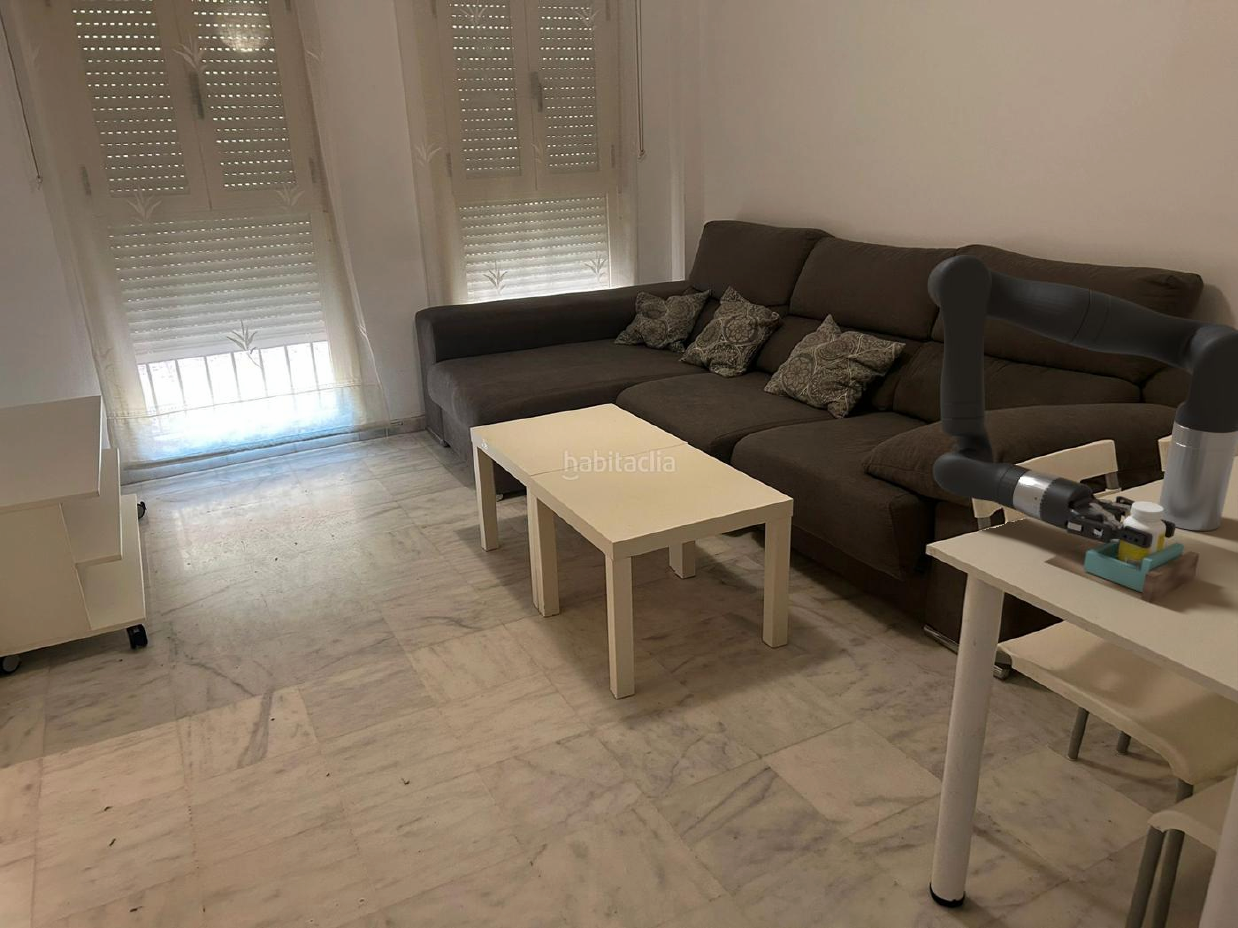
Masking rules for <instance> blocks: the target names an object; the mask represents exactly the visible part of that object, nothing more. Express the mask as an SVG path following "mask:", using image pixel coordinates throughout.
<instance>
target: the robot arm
mask: <svg viewBox="0 0 1238 928" xmlns="http://www.w3.org/2000/svg"><path fill="white" fill-rule="evenodd" d="M927 291H928V294H929V297H930V299H931V300H932V301H933V303H934V305H936V306H937V307H939V309H940V313H941V318H942V323H943V324H942V325H943V336H944V337H943V339H944V345H943V346H944V347H943V349H944V350H943V359H942V360H943V361H942V370H941V376H940V378H941V379H940V396H939V397H940V402H939V403H940V425H941V430H942V432H943V433H944V434H945V435H947V436H951V437H954V440H955V443H956V447H957V450H953V451H952V450H951V451H949V452H946V453H944V454H942V455H940V456H939V457H938V458H937V459H936V460H935V461H934V463H933V467H932V475H933V478H934V481H935V482H936V483H937V485H938V486H939V487H940V488H942V489H943V490H944V491H946V492H948V493H950V494H951V495H956V496H958V497H964V498H968V499H973V500H980V501H986V502H987V501H988V502H993V503H996V504H998V505H1001V506H1004V507H1006V508H1009V509H1011V510H1015V511H1016V512H1020V513H1021V514H1024V515H1025V516H1026V517H1028V518H1032V519H1035V520H1037V521H1040V522H1044V523H1045V524H1048V525H1052V526H1053V527H1056V528H1059V529H1062V530H1065V531H1066V533H1068V534H1071V535H1075V536H1077V537H1083V538H1085V539H1089V540H1093V541H1096V542H1100V543H1103V544H1105V543H1110V541H1111V540H1114V541H1118V542H1119V541H1121V540H1122V541H1125V542H1127V543H1130V544H1133V545H1136V546H1139V547H1142V548H1144V549H1147V548H1149V547H1151V544H1152V539H1153V536H1152V534H1151V533H1148V532H1145V531H1142V530H1139V529H1136V528H1133V527H1130V526H1125V527H1124V524H1123V522H1124V521H1121V520H1122V517H1124V519H1125V518H1127V517H1128V516H1131V507H1132V504H1133V503H1134V502H1136V501H1134V500H1132V499H1129V498H1127V497H1125V496H1122V495H1118V496H1116V497H1115V501H1112V500H1111V499H1105V498H1103V499H1102V498H1096V496H1095V494H1094V492H1093V489H1092V488H1091V487H1090V485H1087V484H1085V483H1081V482H1078V481H1074V480H1071V479H1068V478H1065V477H1061V476H1060V475H1055V474H1052V473H1049V472H1044V471H1038V470H1035V469H1034V470H1033V469H1030V468H1028V467H1025V466H1021V465H1018V464H1014V463H1009V462H999V463H997V462H996V463H995V461H996V460H995V454H994V450H993V446H992V443H991V440H990V437H989V432H988V429H987V427H986V422H985V421H986V413H985V412H986V410H985V409H986V408H985V407H986V405H985V404H986V400H985V396H986V395H985V370H984V363H985V362H984V352H985V351H984V345H985V330H986V320H987V318H990V319H995V320H999V321H1004V322H1005V323H1008V324H1012V325H1014V326H1017V327H1020V328H1022V329H1024V330H1027V331H1030V332H1031V333H1035V334H1036V335H1040V336H1042V337H1046V338H1048V339H1051V340H1055V341H1056V342H1057V341H1058V342H1059V343H1064V344H1066V345H1070V346H1074V347H1077V348H1081V349H1085V350H1089V351H1093V352H1100V353H1107V354H1117V355H1118V354H1120V355H1133V356H1142V357H1146V358H1150V359H1153V360H1156V361H1158V362H1162V363H1165V364H1168V365H1170V366H1173V367H1176V368H1178V369H1180V370H1183V371H1185V372H1187V373H1189V374H1190V375H1191V379H1190V384H1189V388H1188V392H1187V395H1186V396H1187V397H1186V399H1185V401H1183V402H1181V403H1180V404H1178V406H1177V408H1176V412H1175V417H1174V422H1173V426H1172V427H1173V428H1172V432H1171V438H1170V444H1169V449H1168V453H1167V454H1168V455H1167V460H1166V463H1165V464H1166V465H1165V470H1164V476H1163V481H1162V485H1161V491H1160V496H1159V501H1158V505H1160V506H1162V507H1163V508H1164V511H1163V517H1162V519H1161V521H1162V522H1163V523H1164V524H1165V526H1166V532H1165V537H1164V538H1167V539H1170V538H1172V537H1174V536H1175V531H1176V528H1180V529H1185V530H1190V531H1212V530H1216V529H1218V528H1219V527H1220V526H1221V521H1222V517H1223V512H1224V506H1225V502H1226V498H1227V493H1228V490H1229V489H1228V488H1229V485H1230V480H1231V477H1232V476H1231V475H1232V471H1233V465H1234V462H1235V457H1236V452H1237V447H1238V329H1237V328H1235V327H1233V326H1229V325H1226V324H1222V323H1215V322H1209V321H1201V320H1195V319H1190V318H1189V319H1188V318H1183V317H1178V316H1174V315H1168V314H1164V313H1160V312H1157V311H1155V310H1153V309H1150V308H1148V307H1145V306H1142V305H1140V304H1137V303H1135V302H1132V301H1129V300H1127V299H1123V298H1121V297H1117V296H1114V295H1111V294H1108V293H1104V292H1101V291H1096V290H1092V289H1088V288H1085V287H1079V286H1075V285H1069V284H1064V283H1056V282H1050V281H1049V282H1048V281H1040V280H1039V281H1038V280H1028V279H1022V278H1018V277H1015V276H1011V275H1008V274H1005V273H1002V272H999V271H997V270H993V269H991V268H989V267H988V265H987V264H986V263H985V262H984V261H983V260H982V259H980V258H979V257H976V256H975V255H970V254H962V255H956V256H955V255H954V256H952V257H949V258H947V259H945V260H943V261H942V262H939V264H938V265H936V266H935V267H934V269H932V271H931V273H930V274H929V277H928V280H927Z"/></svg>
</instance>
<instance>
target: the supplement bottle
mask: <svg viewBox="0 0 1238 928" xmlns="http://www.w3.org/2000/svg"><path fill="white" fill-rule="evenodd" d="M1163 511H1164V508H1163V507H1162V506H1160V505H1159V503H1155V502H1150V501H1135V502H1134V503H1133V504H1132V507H1131V516H1128V517H1127V518H1125V517H1124V520H1123V521H1122V522H1123V524H1124V527H1125V526H1130V527H1133V528H1136V529H1139V530H1142V531H1145V532H1148V533H1151V534H1152V536H1153V539H1152V544H1151V547H1149V548H1147V549H1144V548H1142V547H1139V546H1136V545H1133V544H1130V543H1127V542H1125V541H1122V540H1121V541H1120V544H1119V550H1118V556H1117V560H1119V561H1122V562H1124V563H1127V564H1130V565H1133V566H1135V567H1138V568H1141V567H1142V562H1143V559H1144V558H1146V557H1148V556H1150V555H1152V554H1154V553H1156V552H1158V551H1160V550H1162V549H1164V548H1163V546H1164V542H1165V538H1166V537H1165V532H1166V526H1165V524H1164V523H1163V522H1162V521H1161V519H1162V517H1163Z"/></svg>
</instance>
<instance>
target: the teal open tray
mask: <svg viewBox="0 0 1238 928" xmlns="http://www.w3.org/2000/svg"><path fill="white" fill-rule="evenodd" d="M1119 544H1120V541H1119V542H1118V541H1114V540H1110V543H1103V544H1101V545H1100V546H1098V547H1096V548H1094V549H1092V550H1090V551H1087V552H1086V557H1085V564H1084V570H1085V571H1087V572H1090V573H1092V574H1095V575H1098V576H1100V577H1103V578H1105V579H1108V580H1111V581H1113V582H1116V583H1119V584H1121V585H1124V586H1126V587H1129V588H1132V589H1134V590H1137V591H1140V592H1142V591H1143V586H1144V580H1145V575H1146V573H1148V572H1150V571H1152V570H1154V569H1156V568H1158V567H1160V566H1162V565H1164V564H1166V563H1168V562H1170V561H1172V560H1174V559H1176V558H1178V557H1180V556H1182V555H1183V553H1184V552H1183V550H1184V548H1185V547H1184V546H1185V544H1182V543H1180V542H1175V543H1173V544H1170V545H1169V546H1167V547H1166V546H1165V548H1162V550H1160V551H1158V552H1156V553H1154V554H1152V555H1150V556H1148V557H1146V558H1144V559H1143V562H1142V567H1141V568H1138V567H1135V566H1133V565H1130V564H1127V563H1124V562H1122V561H1119V560H1117V556H1118V550H1119Z"/></svg>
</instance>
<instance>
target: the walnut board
mask: <svg viewBox="0 0 1238 928" xmlns="http://www.w3.org/2000/svg"><path fill="white" fill-rule="evenodd" d="M1098 546H1101V545H1100V544H1098V543H1097V544H1096V543H1094V542H1091V541H1088V542H1085V543H1082V544H1080V545H1078V546H1076V547H1073V548H1072V549H1070V550H1067V551H1065V552H1062V553H1060V554H1058V555H1056V556H1053V557H1051V558H1049V559H1047V560H1045V561H1043V563H1045V564H1048V565H1050V566H1053V567H1056V568H1058V569H1061V570H1063V571H1067V572H1069V573H1070V574H1071V573H1072V574H1074V575H1077V576H1079V577H1081V578H1085V579H1086V580H1089V581H1092V582H1094V583H1097V584H1100V585H1103V586H1105V587H1108V588H1110V589H1112V590H1116V591H1117V592H1120V593H1122V594H1125V595H1128V596H1131V597H1133V598H1136V599H1139V600H1141V601H1143V602H1146V603H1148V604H1151V603H1152V602H1154V601H1156V600H1158V599H1159V598H1161V597H1163V596H1166V595H1168V593H1171V592H1173V591H1175V590H1176V589H1178V588H1180V587H1182V586H1184V585H1186V584H1188V583H1190V582H1191V581H1193V580H1195V576H1196V571H1197V566H1198V561H1199V557H1200V554H1199V553H1197V552H1194V551H1191V550H1190V551H1188V552H1186V553H1184V554H1182V556H1180V557H1178V558H1176V559H1174V560H1172V561H1170V562H1168V563H1166V564H1164V565H1162V566H1160V567H1158V568H1156V569H1154V570H1152V571H1150V572H1148V573H1146V575H1145V580H1144V586H1143V591H1142V592H1140V591H1137V590H1134V589H1132V588H1129V587H1126V586H1124V585H1121V584H1119V583H1116V582H1113V581H1111V580H1108V579H1105V578H1103V577H1100V576H1098V575H1095V574H1092V573H1090V572H1087V571H1085V570H1084V564H1085V557H1086V552H1087V551H1090V550H1092V549H1094V548H1096V547H1098Z"/></svg>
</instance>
